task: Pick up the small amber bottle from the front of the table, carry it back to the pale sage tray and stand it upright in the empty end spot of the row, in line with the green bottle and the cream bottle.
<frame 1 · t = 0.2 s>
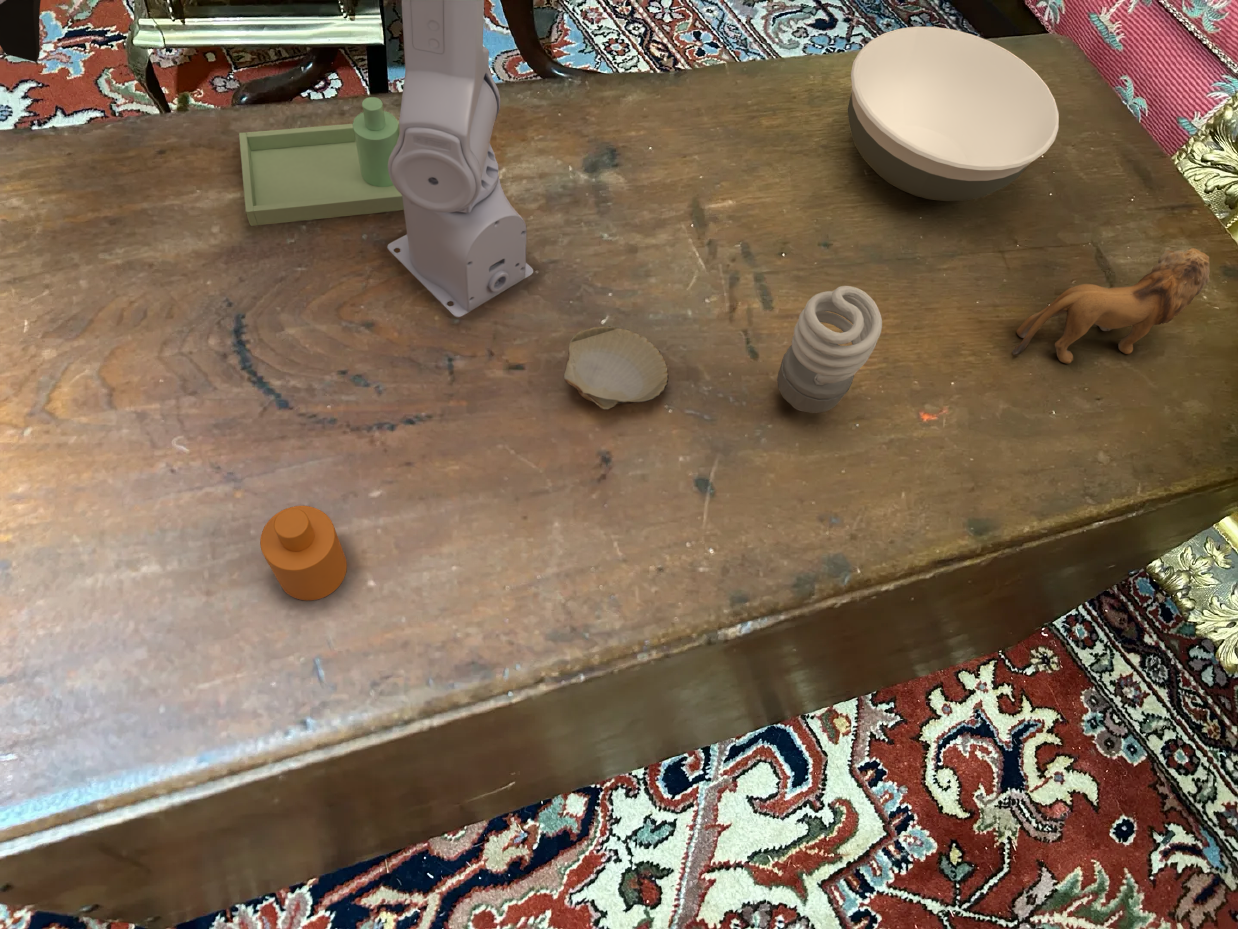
hand: (0, 89, 64), 11 cm above the table, tool pointing down, fingers open, 7 cm apart
tray: (365, 179, 78), on the table
green bottle: (382, 172, 78), point 1 cm above the table, touching tray
cream bottle: (429, 167, 78), point 1 cm above the table, touching tray
light bulb: (799, 405, 71), on the table
lion figurine: (1082, 337, 78), on the table
amber bottle: (312, 569, 60), on the table
bowl: (918, 167, 86), on the table
seashell: (611, 380, 70), on the table
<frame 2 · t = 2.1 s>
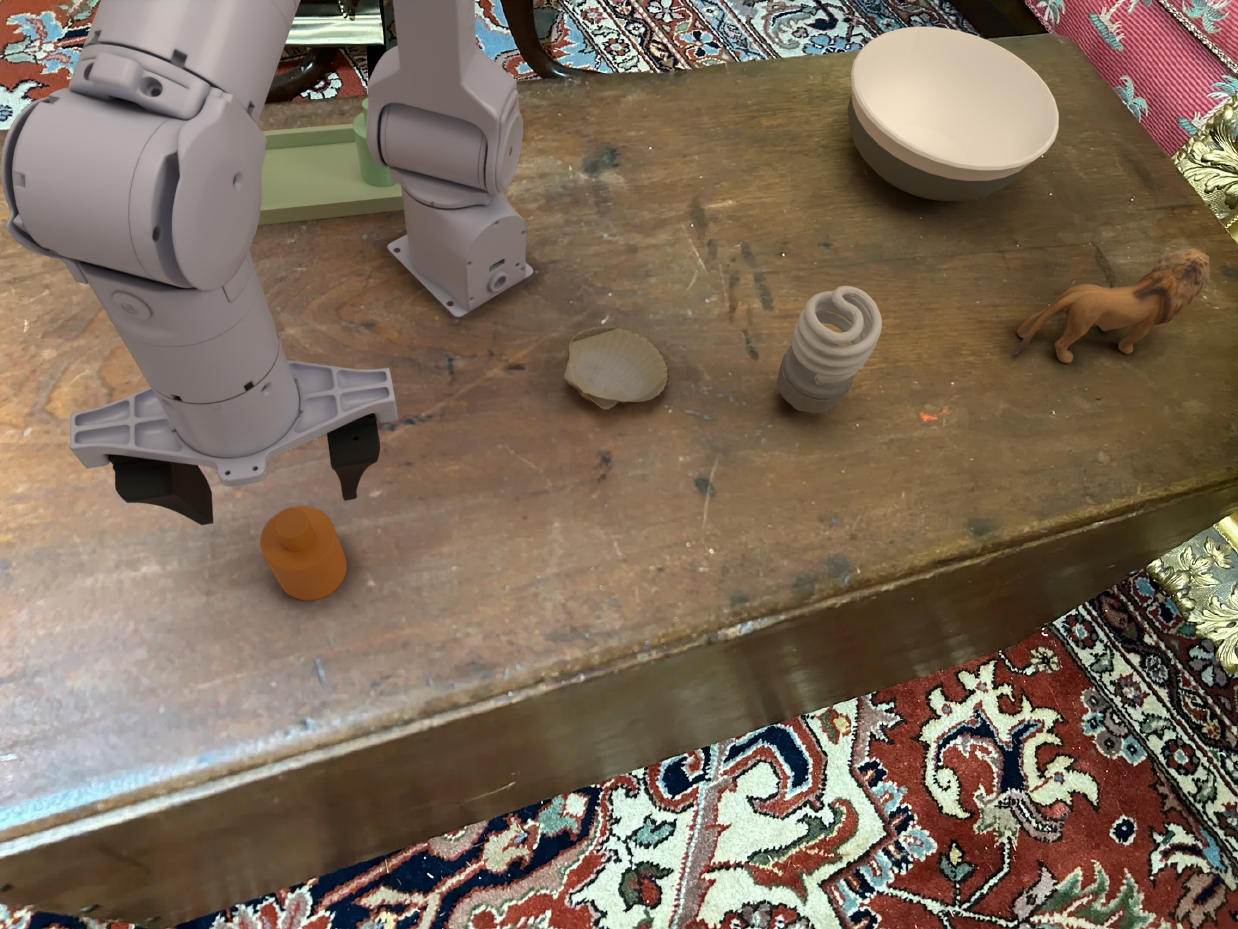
hand: (278, 496, 51), 10 cm above the table, tool pointing down, fingers open, 7 cm apart
nothing on the table moved.
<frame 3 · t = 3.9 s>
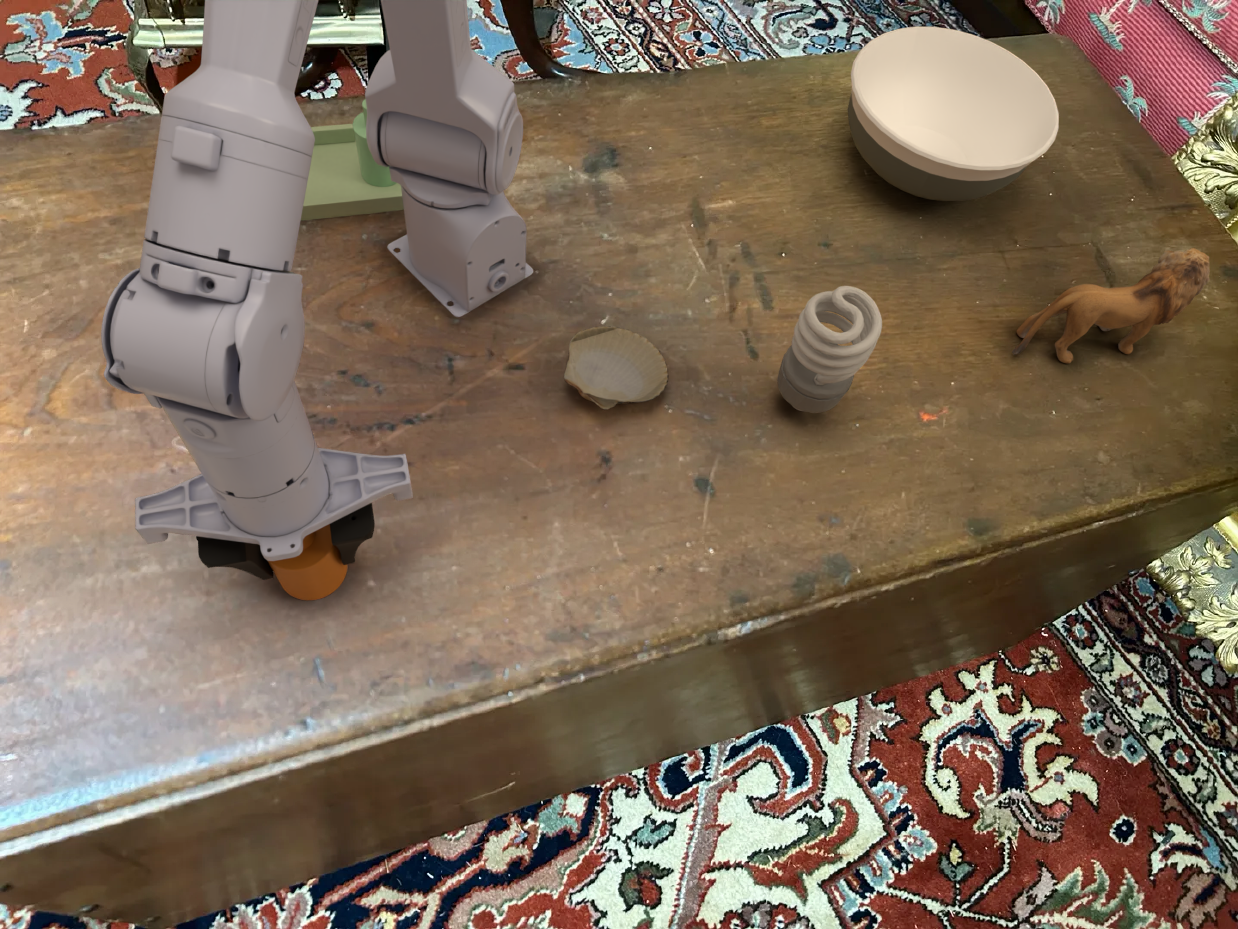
hand: (307, 557, 58), 2 cm above the table, tool pointing down, fingers closed on amber bottle, 4 cm apart
amber bottle: (313, 569, 60), on the table, touching gripper
everything else where it was.
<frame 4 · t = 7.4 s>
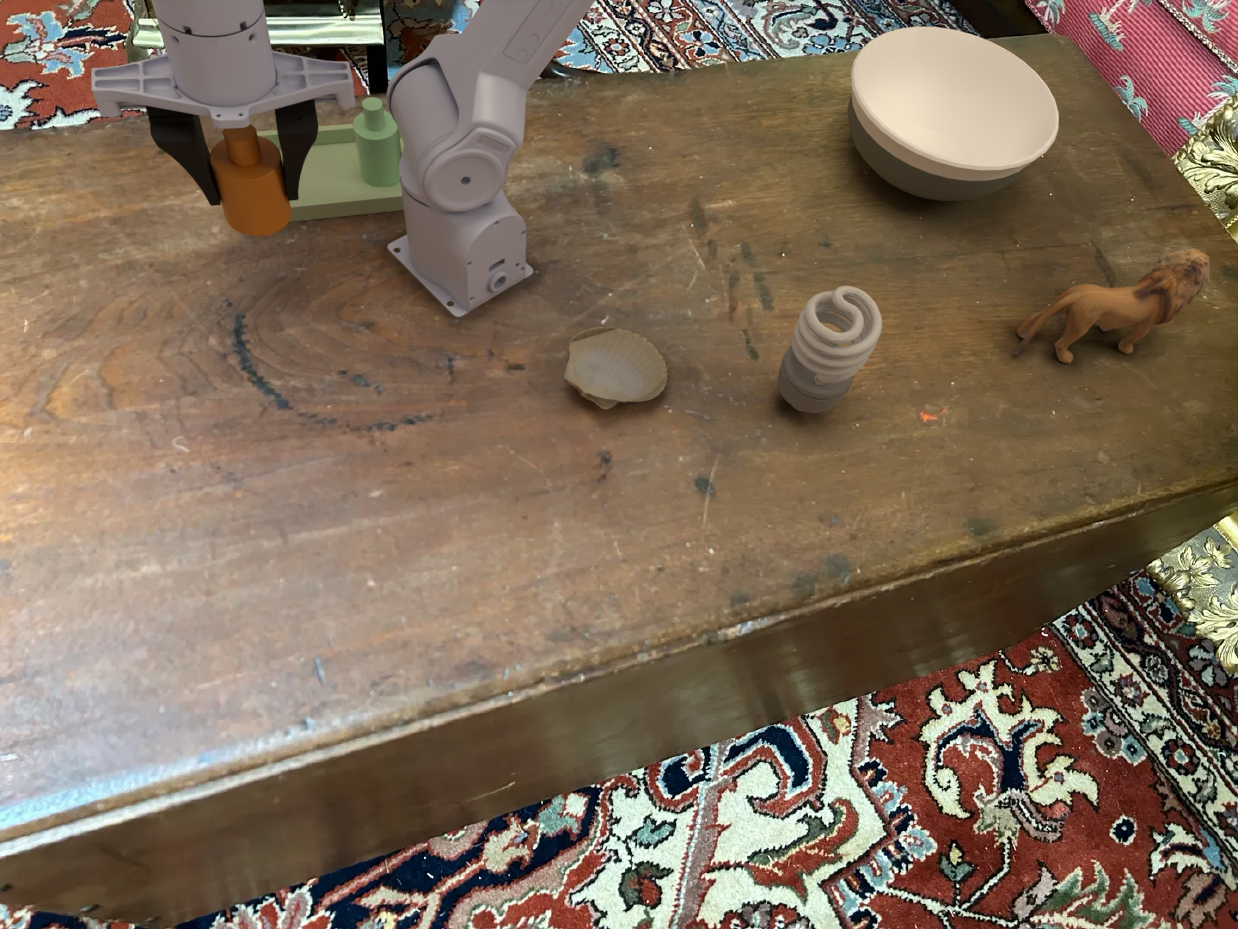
hand: (253, 192, 62), 10 cm above the table, tool pointing down, fingers closed on amber bottle, 4 cm apart
amber bottle: (258, 213, 63), point 9 cm above the table, touching gripper
everything else where it was.
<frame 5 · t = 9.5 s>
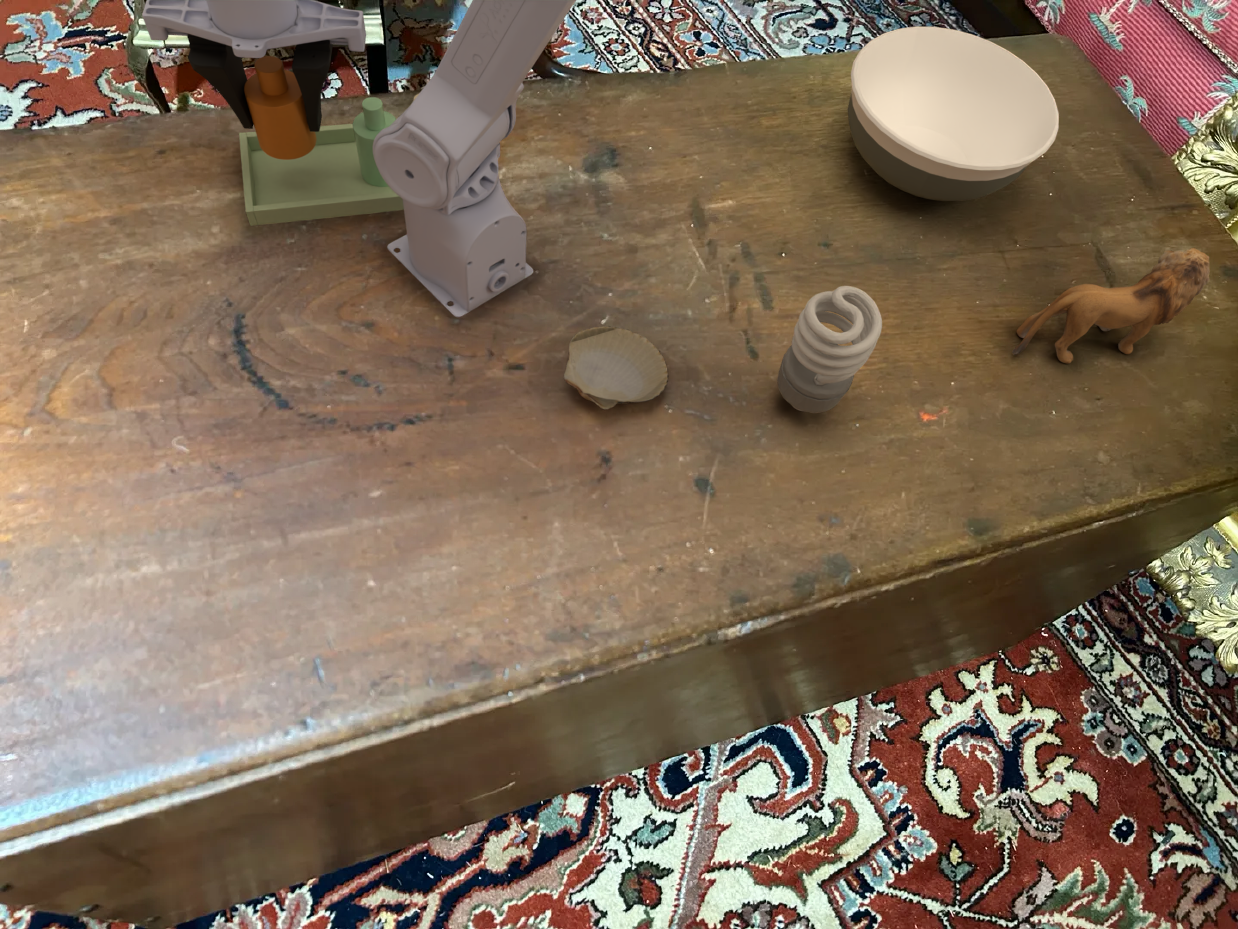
hand: (282, 121, 71), 7 cm above the table, tool pointing down, fingers closed on amber bottle, 4 cm apart
amber bottle: (288, 140, 72), point 5 cm above the table, touching gripper
everything else where it was.
when the fingers open (2 cm above the table, at t = 11.2 s): amber bottle stays where it is, resting on tray.
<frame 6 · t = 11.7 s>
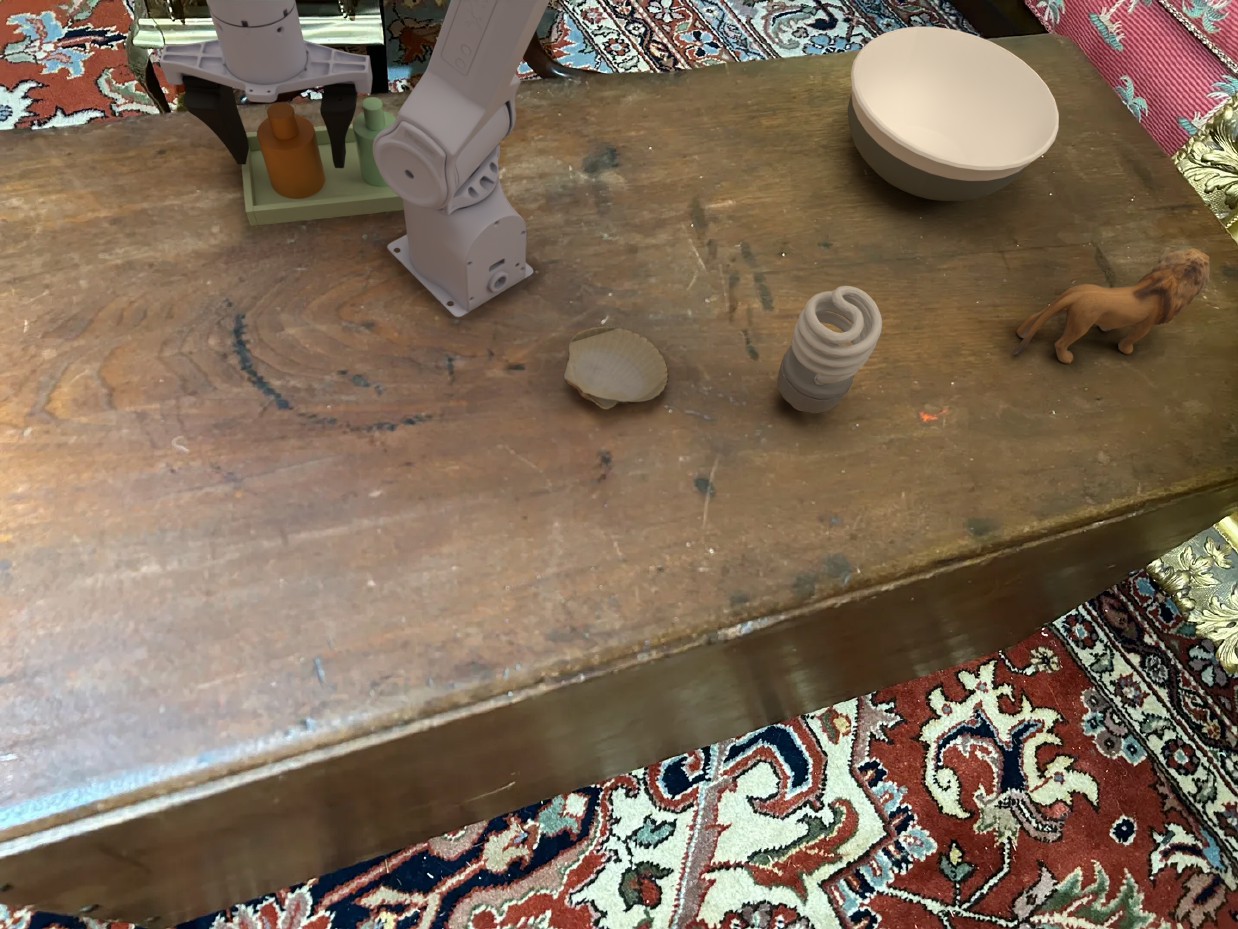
hand: (292, 157, 74), 3 cm above the table, tool pointing down, fingers open, 7 cm apart
amber bottle: (298, 179, 76), point 1 cm above the table, touching tray
everything else where it was.
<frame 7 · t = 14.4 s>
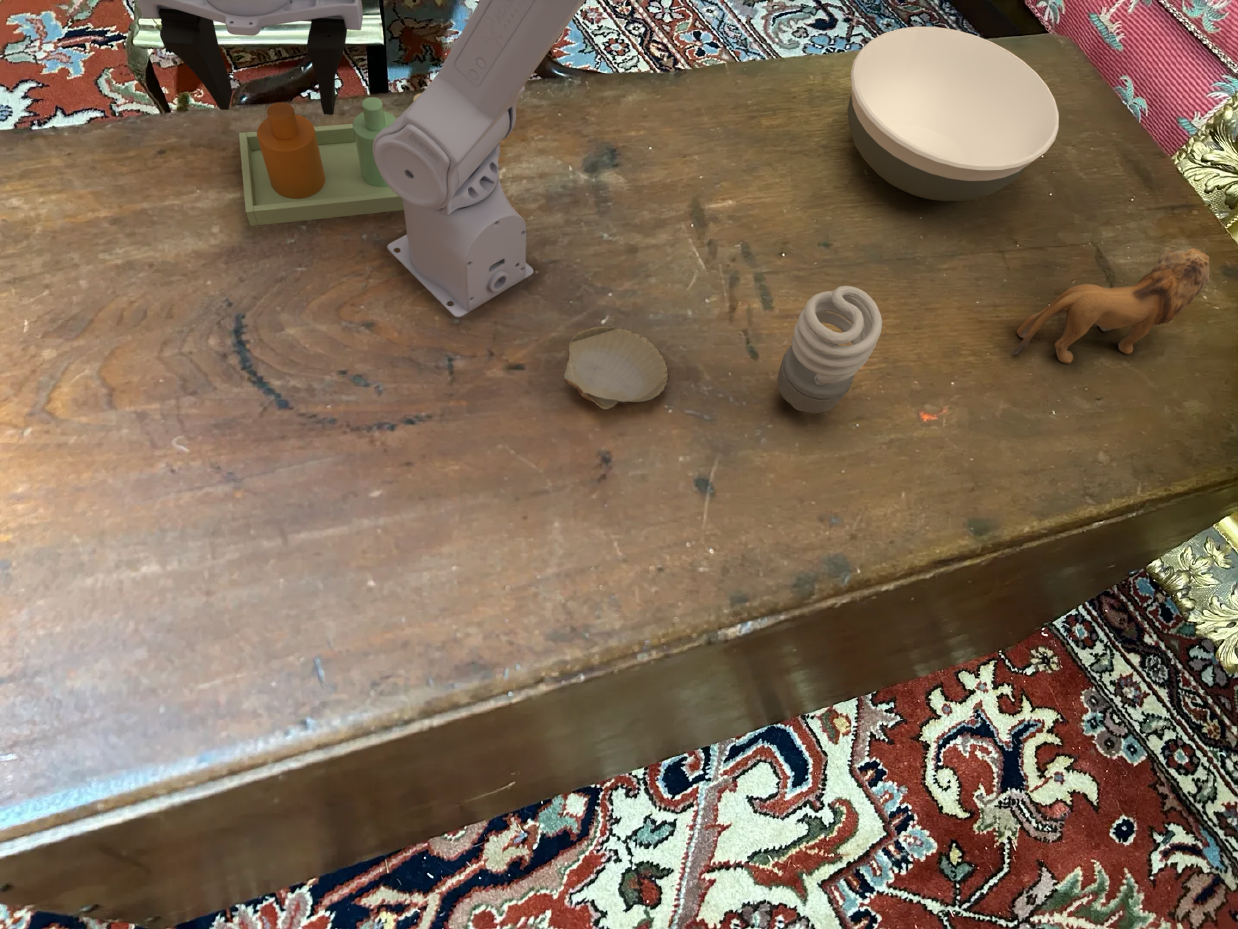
hand: (278, 103, 69), 8 cm above the table, tool pointing down, fingers open, 7 cm apart
nothing on the table moved.
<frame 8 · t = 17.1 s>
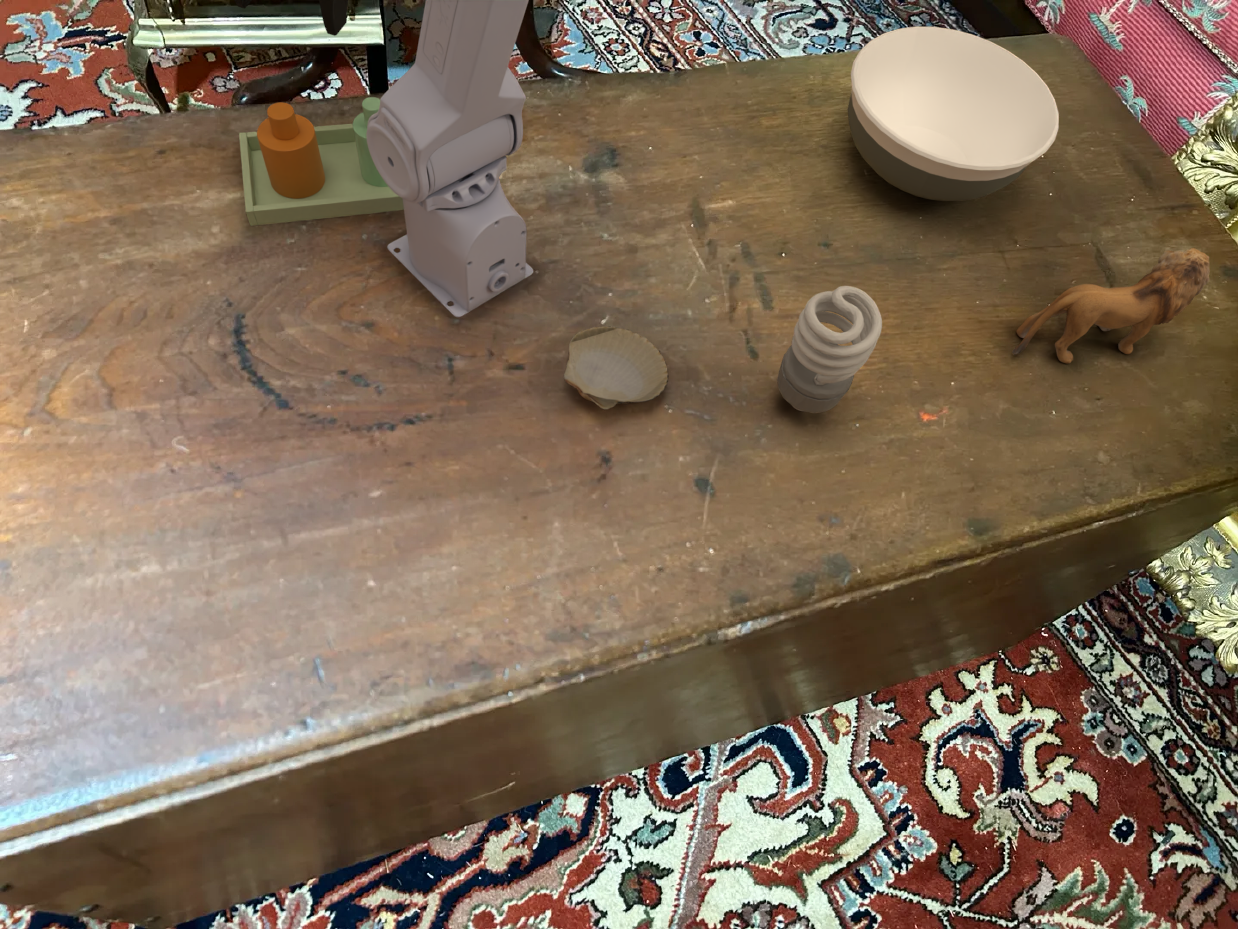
hand: (292, 13, 72), 10 cm above the table, tool pointing down, fingers open, 7 cm apart
nothing on the table moved.
at the end: amber bottle 0.1 cm from the target spot in the tray, point 0.6 cm above the tray's base; amber bottle tilted 0°; green bottle moved 0.0 cm from its start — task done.
